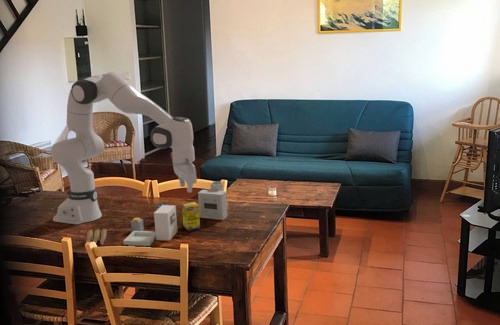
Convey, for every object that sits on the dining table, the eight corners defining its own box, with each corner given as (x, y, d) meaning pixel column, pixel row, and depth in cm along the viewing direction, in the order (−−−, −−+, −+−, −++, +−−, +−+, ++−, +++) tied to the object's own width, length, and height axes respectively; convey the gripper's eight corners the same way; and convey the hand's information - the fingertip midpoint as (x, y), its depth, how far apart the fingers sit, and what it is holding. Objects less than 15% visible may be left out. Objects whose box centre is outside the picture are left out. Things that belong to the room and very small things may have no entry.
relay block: (131, 232, 230) (130, 220, 228) (135, 229, 233) (134, 216, 232) (140, 232, 229) (139, 220, 227) (143, 229, 233) (142, 217, 231)
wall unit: (154, 239, 220) (152, 212, 217) (163, 231, 230) (161, 205, 227) (171, 240, 219) (169, 213, 216) (179, 231, 228) (177, 205, 225)
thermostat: (199, 217, 245) (197, 186, 241) (212, 207, 258) (211, 178, 254) (223, 220, 240) (221, 188, 237) (235, 210, 253) (234, 180, 249)
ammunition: (88, 228, 223) (84, 235, 215) (106, 227, 224) (102, 234, 216) (90, 239, 224) (85, 246, 217) (107, 238, 225) (103, 245, 217)
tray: (123, 245, 216) (123, 240, 215) (134, 235, 226) (133, 230, 226) (148, 246, 214) (148, 241, 213) (158, 236, 224) (158, 231, 224)
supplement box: (188, 231, 228) (186, 207, 226) (183, 227, 234) (181, 203, 231) (200, 228, 231) (199, 205, 228) (195, 224, 236) (194, 201, 234)
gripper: (199, 161, 206) (201, 194, 209) (183, 151, 224) (185, 182, 227) (184, 163, 203) (186, 197, 207) (169, 152, 222) (171, 184, 225)
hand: (186, 189), depth 217 cm, fingers open, 8 cm apart
